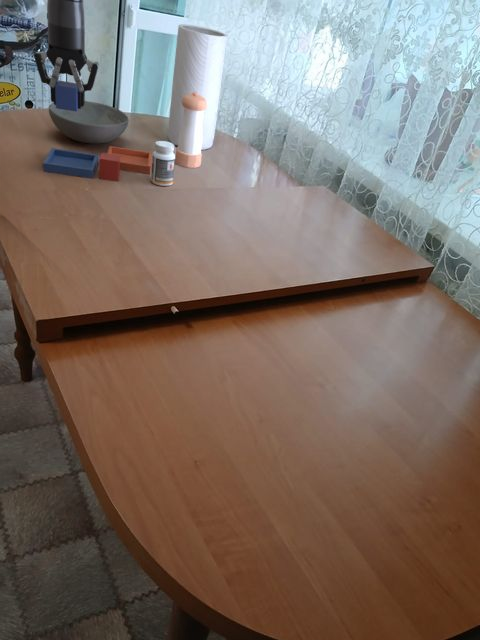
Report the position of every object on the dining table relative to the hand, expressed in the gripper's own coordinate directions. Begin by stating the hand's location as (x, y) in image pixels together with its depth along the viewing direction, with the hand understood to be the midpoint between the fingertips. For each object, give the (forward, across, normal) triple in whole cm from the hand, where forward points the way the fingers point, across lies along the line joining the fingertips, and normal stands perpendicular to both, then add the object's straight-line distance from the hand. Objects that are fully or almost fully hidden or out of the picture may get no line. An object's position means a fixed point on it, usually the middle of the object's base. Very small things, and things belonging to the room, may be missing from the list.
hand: (67, 105), depth 126 cm
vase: (+16, -31, -38) cm, 51 cm away
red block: (+15, -10, 0) cm, 18 cm away
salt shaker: (+16, -30, -19) cm, 39 cm away
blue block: (0, 0, 0) cm, 0 cm away
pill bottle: (+16, -23, -1) cm, 28 cm away
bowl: (+16, -2, -26) cm, 30 cm away
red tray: (+15, -14, -11) cm, 24 cm away
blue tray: (+15, 0, -3) cm, 16 cm away
